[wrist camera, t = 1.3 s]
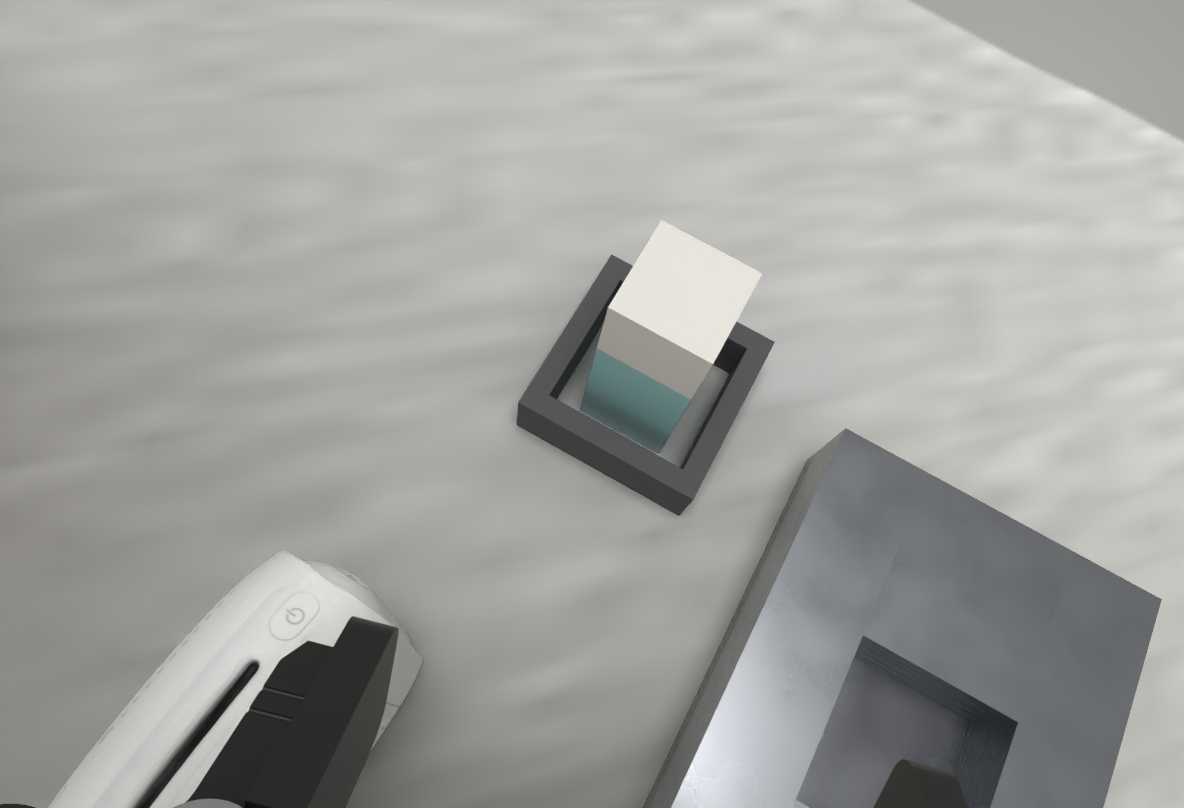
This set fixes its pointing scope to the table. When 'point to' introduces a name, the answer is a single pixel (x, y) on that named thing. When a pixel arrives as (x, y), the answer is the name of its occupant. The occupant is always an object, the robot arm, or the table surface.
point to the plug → (664, 334)
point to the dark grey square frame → (610, 448)
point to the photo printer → (225, 683)
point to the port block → (911, 654)
